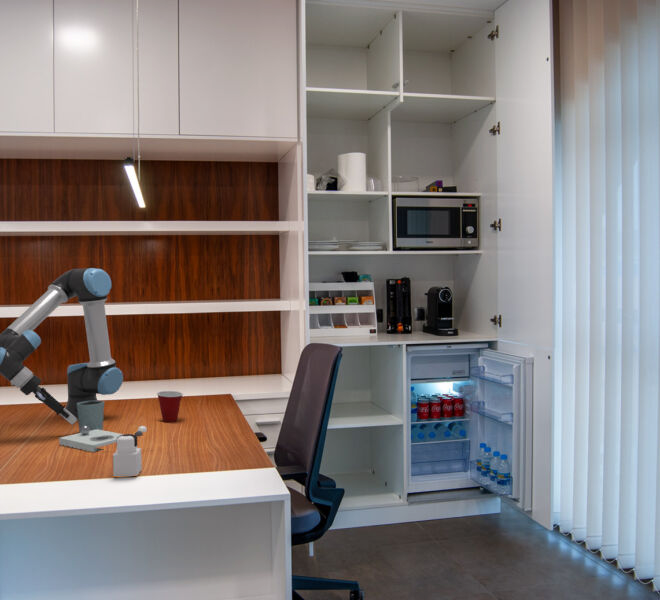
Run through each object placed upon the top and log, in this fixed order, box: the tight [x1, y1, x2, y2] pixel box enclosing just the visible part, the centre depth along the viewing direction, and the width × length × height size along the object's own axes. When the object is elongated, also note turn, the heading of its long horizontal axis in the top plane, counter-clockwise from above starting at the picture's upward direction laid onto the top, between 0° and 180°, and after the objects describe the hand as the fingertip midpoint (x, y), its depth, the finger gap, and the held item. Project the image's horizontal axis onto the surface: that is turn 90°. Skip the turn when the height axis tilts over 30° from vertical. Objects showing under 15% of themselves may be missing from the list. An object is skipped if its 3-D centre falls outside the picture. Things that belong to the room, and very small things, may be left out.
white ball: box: [137, 425, 148, 433], centre depth 253 cm, size 4×4×4 cm
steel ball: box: [79, 425, 90, 435], centre depth 244 cm, size 4×4×4 cm
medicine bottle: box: [112, 433, 143, 477], centre depth 202 cm, size 7×7×12 cm
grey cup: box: [77, 399, 105, 433], centre depth 257 cm, size 10×10×12 cm
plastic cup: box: [156, 390, 184, 423], centre depth 277 cm, size 11×11×12 cm
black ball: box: [134, 430, 144, 437], centre depth 247 cm, size 3×3×3 cm
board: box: [58, 429, 124, 453], centre depth 240 cm, size 20×16×2 cm
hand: (74, 421), depth 254 cm, fingers closed
